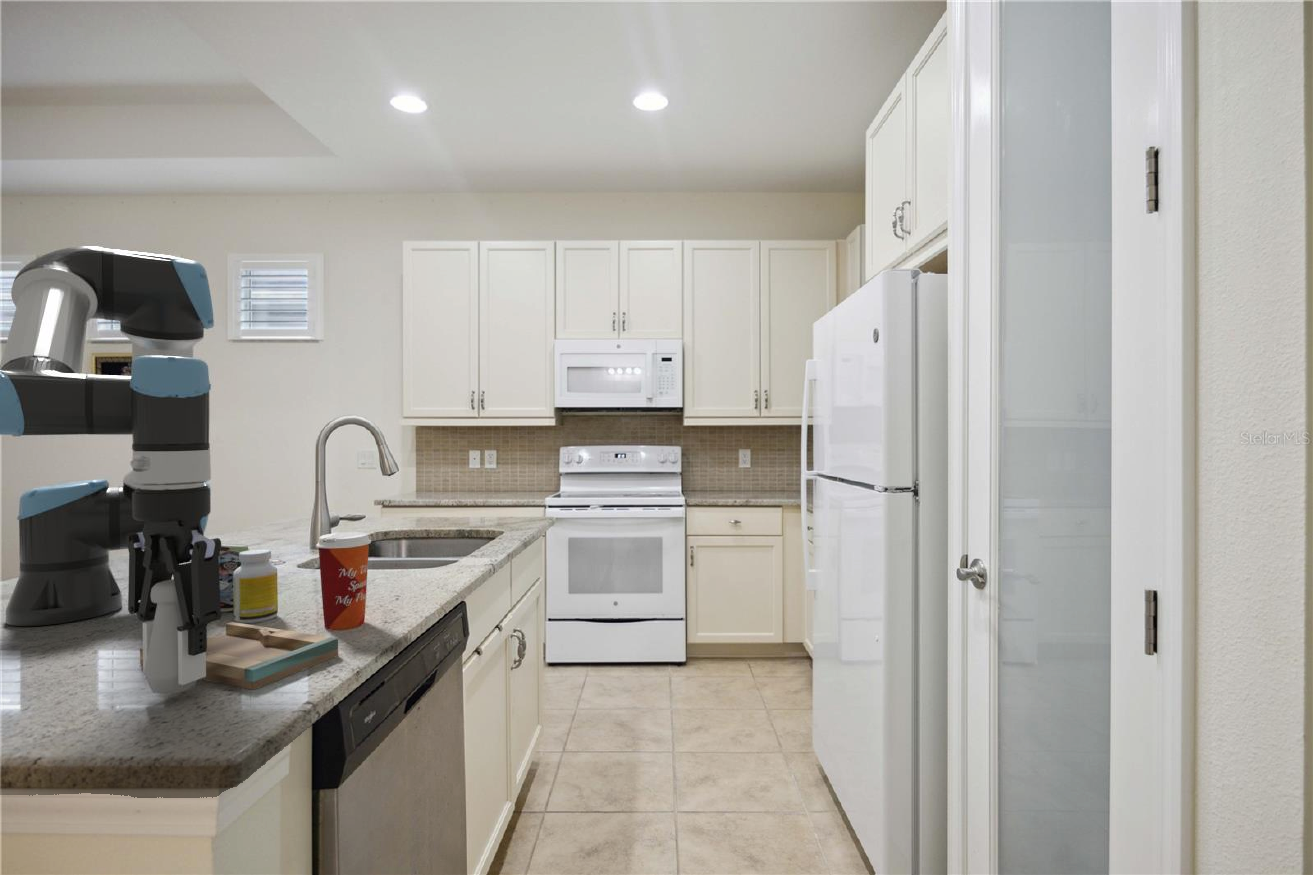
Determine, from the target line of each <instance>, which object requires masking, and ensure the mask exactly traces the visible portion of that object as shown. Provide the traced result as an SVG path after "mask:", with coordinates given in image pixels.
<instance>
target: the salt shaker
mask: <svg viewBox="0 0 1313 875" xmlns="http://www.w3.org/2000/svg"><path fill="white" fill-rule="evenodd" d="M151 601H152V602H153V603H157V608H156V613H155V618H154V623H153V628H152V633H151V639H150V644H149V649H148V654H147V659H146V664H145V669H144V676H143V677H144V680H145V681H146V683H147V685H148V686H149V688H150V690H151V692H152V693H155V694H159V695H168V694H174V693H175V694H176V693H180V692H184V691H186V690H188V689H189V688H192V687H194V686H196V683H197V681H198V680H195V681H192V682H190V683H187V684H184V685H180V684H178V630H177V627H180V626H183V622H182V617H181V612H180V607H179V602H178V597H177V593H176V588H175V583H174V578H172V579H171V580H166V581H162V582H159V583H156V584H155V585H154V586H153V587H152V589H151Z"/></svg>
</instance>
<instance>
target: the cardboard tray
mask: <svg viewBox="0 0 1313 875" xmlns="http://www.w3.org/2000/svg"><path fill="white" fill-rule="evenodd" d="M336 657H339V638H337V637H332V636H331V637H330V636H324V635H317V634H311V633H305V632H299V631H292V630H288V629H287V630H286V629H280V628H279V629H278V628H274V627H268V626H267V627H266V626H260V625H254V624H249V623H239V622H236V621H231V622H227V623H225V633H223V634H219V635H216V636H212V637H210V638H207V649H206V677H203V678H201V679H200V680H204V681H208V682H213V683H216V684H217V683H218V684H223V685H227V686H233V687H237V688H241V689H247V690H253V691H254V690H257V689H259V688H261V687H264V686H266V685H269V684H271V683H274V682H276V681H279V680H281V678H282V679H283V678H287V677H288V676H291V675H293V673H294V674H296V673H299V672H301V671H304V670H306V669H308V668H311V667H314V666H316V665H319V664H321V663H324V662H325V661H328V660H331V659H333V658H336ZM139 667H141V668H143V647H141V648H139ZM303 669H304V670H303Z"/></svg>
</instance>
